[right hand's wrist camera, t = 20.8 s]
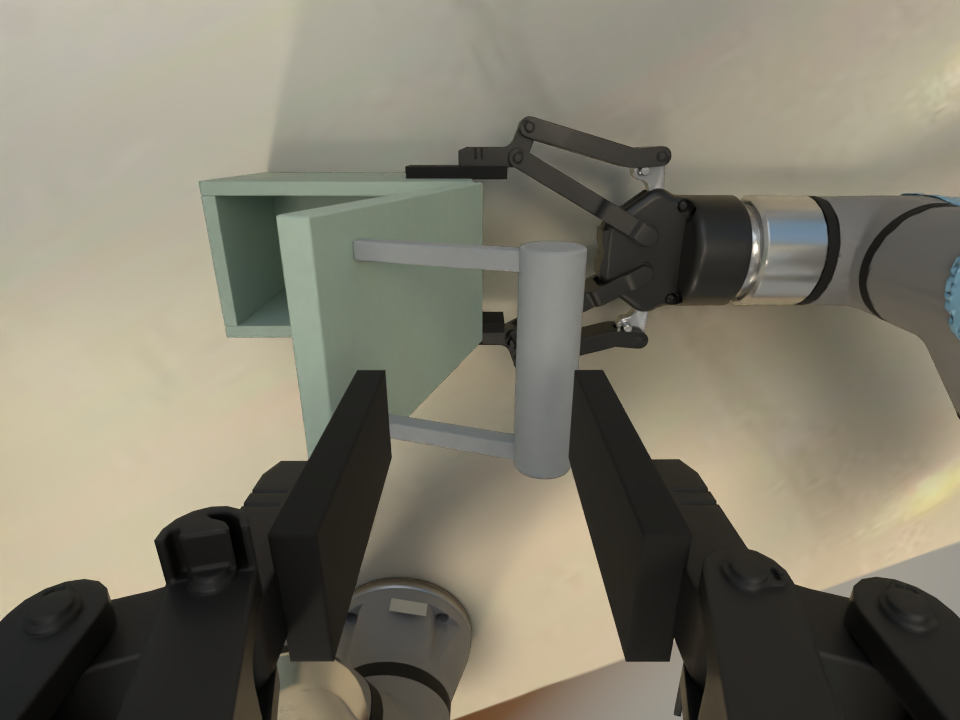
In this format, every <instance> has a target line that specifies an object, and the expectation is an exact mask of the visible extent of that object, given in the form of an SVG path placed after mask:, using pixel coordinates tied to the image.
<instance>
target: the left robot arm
mask: <svg viewBox="0 0 960 720" xmlns="http://www.w3.org/2000/svg"><path fill="white" fill-rule="evenodd" d="M533 141H537V142H541V143H544V144H547V145H551V146H554V147H557V148H561V149H564V150H567V151H570V152H574V153H577V154H580V155H584V156H587V157H590V158H594V159H597V160H600V161H603V162H607V163H610V164H613V165H618V166H623V167H630V174H631V176H632V177H633V178H634V179H638V180H641V181H642V182H643V183H644V185H645V190H643V191H642V192H640V193H639V194H637V195H636V196H634V197H633V198H631V199H630V200H629V201H627V202H626V203H624V204H623V205H621V206H620V207H618V206H616V205H614V204H613V203H611V202H610V201H608V200H606V199H604V198H603V197H601V196H599V195H598V194H596V193H594V192H593V191H591V190H589V189H588V188H586V187H585V186H583V185H581V184H580V183H578V182H576V181H575V180H573V179H571V178H570V177H568V176H567V175H565V174H563V173H562V172H560V171H558V170H557V169H555V168H553V167H552V166H550V165H549V164H547V163H545V162H544V161H542V160H540V159H539V158H537V157H535V156H534V155H532V154H530V153H529V152H530V149H531V147H532V144H533ZM670 160H671V151H670V149H669V148H667V147H664V146H647V147H635V148H633V147H629V146H626V145H623V144H619V143H616V142H613V141H610V140H606V139H603V138H600V137H597V136H593V135H590V134H587V133H584V132H580V131H577V130H574V129H571V128H567V127H564V126H561V125H558V124H554V123H551V122H548V121H545V120H541V119H538V118H535V117H530V116H528V117H525V118H524V119H522V120H521V121H520V122H519V124H518V127H517V130H516V133H515V135H514V138H513V140H512V142H511V143H510V144H509V145H508V146H505V147H466V148H463V149H461V150H459V165H409V166H406V167H405V168H406V179H507V167H515V168H517V169H518V170H520V171H522V172H523V173H525V174H527V175H528V176H530V177H532V178H533V179H535V180H537V181H538V182H540V183H542V184H543V185H545V186H547V187H548V188H550V189H552V190H553V191H555V192H557V193H558V194H560V195H562V196H563V197H565V198H567V199H568V200H570V201H572V202H573V203H575V204H577V205H578V206H580V207H582V208H583V209H585V210H587V211H588V212H590V213H592V214H593V215H595V216H596V217H598V218H600V219H601V220H603V221H602V222H601V224H600V227H597V242H598V247H599V249H598V252H597V255H596V258H595V264H594V270H595V272H596V274H595V275H593V276H591V277H589V278H587V279H586V280H585V289H584V302H583V312H585V311H587V310H589V309H591V308H593V307H598V306H602V305H604V304H606V303H608V302H610V301H612V300H614V299H616V298H618V297H620V298H621V299H622V300H623V301H625V302H626V303H627V304H629V305H630V306H631V307H632V308H631V310H630V311H629V312H628V313H626V314H622V315H619V316H618V317H617V318H616V319H615V321H609V322H602V323H597V324H593V325H589V326H585V327H582V328H581V341H580V354H579V356H580V355H584V354H588V353H592V352H596V351H600V350H604V349H608V348H613V347H625V348H643V347H645V346H646V345H647V343H648V337H647V335H646V334H645V333H644V331H645V326H646V321H647V316H648V312H649V311H651V310H653V309H655V308H657V307H660V306H663V305H724V304H727V303H728V302H730V303H732V304H733V305H739V306H743V305H839V306H851V307H855V308H859V309H861V310H863V311H866V312H868V313H870V314H873V315H875V316H877V317H878V318H880V319H882V320H884V321H887V322H889V323H891V324H893V325H895V326H897V327H900V328H902V329H904V330H906V331H909V332H911V333H913V334H915V335H917V336H918V337H919V338H920V339H921V340H922V341H923V342H924V343H925V345H926V347H927V349H928V351H929V353H930V355H931V357H932V360H933V362H934V364H935V366H936V368H937V371H938V373H939V375H940V377H941V379H942V381H943V384H944V386H945V388H946V390H947V392H948V394H949V397H950V399H951V401H952V403H953V405H954V408H955V410H956V412H957V415H958V417H959V419H960V198H957V197H944V196H940V195H924V194H923V193H907V194H902V195H899V196H839V197H817V196H761V195H750V196H744V197H742V198H740V199H738V198H737V197H735V196H733V195H673V194H671V193H670V192H668V191H667V190H665V189H664V174H665V165H666V164H668V163H669V161H670ZM478 345H503V346H505V347H507V348H508V350H509V351H510V354H511V357H512V360H513V363H514V366H515V367H516V348H517V318H515V319H513V320H511V321H510V322H508V323H504V316H503V312H482V341H481V342H480V343H479V344H478ZM470 648H471V624H470V620H469V617H468V615H467V613H466V611H465V609H464V608H463V606H462V605H461V604H460V603H459V601H458V600H457V599H456V598H454V597H453V596H452V595H451V594H450V593H448V592H447V591H445V590H443V589H442V588H440V587H438V586H436V585H433V584H431V583H428V582H425V581H421V580H417V579H411V578H385V579H380V580H376V581H372V582H369V583H367V584H364V585H362V586H360V587H358V588H357V589H355V590H354V593H353V596H352V600H351V603H350V607H349V610H348V614H347V617H346V621H345V624H344V628H343V632H342V635H341V639H340V642H339V646H338V649H337V653H336V656H335V660H334V662H290V656H289V651H288V645H287V640H286V641H285V644H284V646H283V649H282V651H281V654H280V656H279V659H278V662H277V668H278V673H279V679H280V692H279V703H278V715H277V720H450V710H451V701H452V699H453V696H454V694H455V691H456V689H457V686H458V684H459V681H460V679H461V676H462V674H463V671H464V669H465V666H466V664H467V661H468V658H469V653H470Z"/></svg>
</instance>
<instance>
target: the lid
mask: <svg viewBox="0 0 960 720" xmlns="http://www.w3.org/2000/svg"><path fill="white" fill-rule="evenodd" d="M276 220H277V228H278V235H279V243H280V250H281V257H282V265H283V272H284V280H285V287H286V295H287V302H288V309H289V317H290V324H291V332H292V339H293V347H294V354H295V361H296V369H297V376H298V384H299V391H300V399H301V406H302V413H303V421H304V428H305V436H306V443H307V451H308V458H310V456H311V454H312V452H313V450H314V448H315V447H316V445H317V443H318V441H319V439H320V437H321V436H322V434H323V432H324V430H325V428H326V426H327V425H328V423H329V421H330V419H331V417H332V415H333V414H334V412H335V410H336V408H337V406H338V404H339V403H340V401H341V399H342V397H343V395H344V393H345V392H346V390H347V388H348V386H349V384H350V382H351V381H352V379H353V377H354V375H355V373H356V371H357V370H385V371H386V385H387V399H388V413H389V427H390V438H393V439H399V440H404V441H410V442H415V443H421V444H427V445H432V446H438V447H444V448H449V449H455V450H461V451H466V452H472V453H478V454H483V455H489V456H495V457H500V458H506V459H512V460H513V463H514V465H515V467H516V469H517V470H518V471H520V472H521V473H522V474H524V475H526V476H529V477H532V478H537V479H553V478H557V477H560V476H562V475H564V474H566V473H567V472H568V471H569V469H570V467H571V465H570V462H569V458H568V455H569V441H570V427H571V413H572V399H573V385H574V371H575V370H578V368H579V354H580V341H581V328H582V315H583V302H584V289H585V275H586V262H587V248H586V247H585V246H583V245H581V244H577V243H572V242H563V241H537V242H529V243H525V244H523V245H521V246H520V247H505V246H488V245H483V183H481V182H462V183H456V184H451V185H445V186H439V187H434V188H428V189H422V190H417V191H411V192H405V193H399V194H394V195H388V196H382V197H377V198H371V199H365V200H359V201H354V202H348V203H342V204H337V205H331V206H325V207H320V208H314V209H308V210H302V211H297V212H291V213H285V214H280V215H277V216H276ZM483 270H491V271H505V272H519V280H518V314H517V348H516V382H515V416H514V434H508V433H502V432H496V431H490V430H484V429H478V428H471V427H465V426H459V425H453V424H447V423H441V422H435V421H428V420H422V419H416V418H410V417H409V416H410V415H411V414H412V413H413V412H414V411H415V410H416V409H417V408H418V406H419V405H420V404H421V403H422V402H423V401H424V400H425V399H426V398H427V397H428V396H429V395H430V394H431V393H432V392H433V391H434V390H435V389H436V388H437V387H438V386H439V385H440V384H441V383H442V382H443V381H444V380H445V379H446V377H447V376H448V375H449V374H450V373H451V372H452V371H453V370H454V369H455V368H456V367H457V366H458V365H459V364H460V363H461V362H462V361H463V360H464V359H465V358H466V357H467V356H468V355H469V354H470V353H471V352H472V351H473V350H474V348H475V347H476V346H477V345H478V344H479V343H480V342H481V341H482V273H483Z"/></svg>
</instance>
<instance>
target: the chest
mask: <svg viewBox="0 0 960 720" xmlns="http://www.w3.org/2000/svg"><path fill="white" fill-rule="evenodd" d="M462 182H473V179H406V173H257V174H249V175H242V176H234V177H227V178H219V179H212V180H204V181H199V186H200V192H201V195H202V196H201V198H202V203H203V209H204V214H205V220H206V225H207V231H208V236H209V242H210V247H211V253H212V258H213V264H214V269H215V275H216V280H217V286H218V291H219V297H220V302H221V307H222V313H223V318H224V324H225V329H226V334H227V337H228V338H252V337H292V332H291V324H290V317H289V309H288V302H287V295H286V287H285V280H284V272H283V265H282V257H281V250H280V243H279V235H278V228H277V220H276V216H277V215H280V214H285V213H291V212H297V211H302V210H308V209H314V208H320V207H325V206H331V205H337V204H342V203H348V202H354V201H359V200H365V199H371V198H377V197H382V196H388V195H394V194H399V193H405V192H411V191H417V190H422V189H428V188H434V187H439V186H445V185H451V184H456V183H462Z"/></svg>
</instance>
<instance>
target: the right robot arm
mask: <svg viewBox="0 0 960 720" xmlns="http://www.w3.org/2000/svg"><path fill="white" fill-rule="evenodd" d="M391 458H392V455H391V441H390V427H389V413H388V399H387V385H386V371H385V370H357V371H356V373H355V375H354V377H353V379H352V381H351V382H350V384H349V386H348V388H347V390H346V392H345V393H344V395H343V397H342V399H341V401H340V403H339V404H338V406H337V408H336V410H335V412H334V414H333V415H332V417H331V419H330V421H329V423H328V425H327V426H326V428H325V430H324V432H323V434H322V436H321V437H320V439H319V441H318V443H317V445H316V447H315V448H314V450H313V452H312V454H311V456H310V458H309V459H308V461H280V462H279V463H278V464H276V465H275V466H274V467H272V468H271V469H270V470H268V471H267V472H265V473H264V474H263V475H262V476H261V478H260V479H259V481H258V482H257V484H256V486H255V487H254V489H253V490H252V491H253V492H252V493H250V495H249V496H248V498H247V499H246V501H245V502H244V506H242V507H241V508H240V509H237V508H233V507H229V506H217V507H208V508H204V509H200V510H196V511H193V512H190V513H188V514H186V515H184V516H182V517H180V518H177V519H176V520H174V521H173V522H172V523H170V524H169V525H168V526H166V527H165V528H164V529H162V531H161V532H160V533H159V535H158V536H157V538H156V539H155V540H154V542H155V545H156V549H157V553H158V556H159V560H160V563H161V567H162V570H163V574H164V577H165V581H166V586H165V587H162V588H159V589H156V590H152V591H149V592H144V593H140V594H136V595H131V596H127V597H123V598H118V599H114V600H111V599H110V596H109V593H108V590H107V588H106V587H105V586H104V585H103V584H101V583H100V582H99V581H94V580H87V579H81V580H74V581H67V582H64V583H61V584H58V585H55V586H52V587H49V588H46V589H44V590H42V591H40V592H39V593H37V594H35V595H33V596H31V597H30V598H28V599H26V600H24V601H23V602H22V603H21V604H19V605H18V606H17V607H16V608H15V609H13V610H12V611H11V612H10V613H8V614H7V615H6V616H5V617H4V618H3V619H2V620H1V621H0V720H277V715H278V703H279V692H280V679H279V673H278V668H277V662H278V659H279V656H280V654H281V651H282V649H283V646H284V644H285V641H286V640H287V645H288V651H289V656H290V662H334V660H335V656H336V653H337V649H338V646H339V642H340V639H341V635H342V632H343V628H344V624H345V621H346V617H347V614H348V610H349V607H350V603H351V600H352V596H353V593H354V589H355V586H356V582H357V578H358V575H359V571H360V568H361V564H362V561H363V557H364V554H365V550H366V547H367V543H368V539H369V536H370V532H371V529H372V525H373V522H374V518H375V515H376V511H377V508H378V504H379V501H380V497H381V493H382V490H383V486H384V483H385V479H386V476H387V472H388V469H389V465H390V462H391ZM568 458H569V462H570V465H571V469H572V472H573V476H574V479H575V483H576V486H577V490H578V493H579V497H580V501H581V504H582V508H583V511H584V515H585V518H586V522H587V525H588V529H589V532H590V536H591V539H592V543H593V547H594V550H595V554H596V557H597V561H598V564H599V568H600V571H601V575H602V578H603V582H604V586H605V589H606V593H607V596H608V600H609V603H610V607H611V610H612V614H613V617H614V621H615V624H616V628H617V632H618V635H619V639H620V642H621V646H622V649H623V653H624V656H625V660H626V662H669V661H670V656H671V651H672V645H673V640H674V639H675V641H676V644H677V646H678V649H679V651H680V654H681V656H682V659H683V661H684V662H683V668H682V673H681V678H680V683H679V688H678V693H677V698H676V704H675V710H674V715H676V716H681V712H682V713H683V720H960V618H959V617H958V616H957V615H956V614H955V613H954V612H953V611H952V610H950V609H949V608H948V607H947V606H945V605H944V604H943V603H942V602H941V601H939V600H938V599H937V598H935V597H934V596H932V595H930V594H928V593H926V592H924V591H923V590H921V589H919V588H917V587H915V586H912V585H909V584H906V583H904V582H901V581H898V580H895V579H888V578H881V577H872V578H866V579H862V580H860V581H859V582H858V583H857V584H856V585H854V587H853V590H852V593H851V596H850V598H847V597H842V596H838V595H834V594H830V593H825V592H821V591H817V590H812V589H808V588H805V587H802V586H798V585H795V584H794V582H793V581H792V579H791V578H790V576H789V575H788V573H787V571H786V570H785V569H783V568H782V567H781V566H780V565H779V564H777V563H776V562H775V561H774V560H772V559H771V558H769V557H767V556H765V555H763V554H761V553H759V552H757V551H753V550H750V549H748V548H747V547H746V545H745V544H744V542H743V541H742V539H741V538H740V536H739V535H738V533H737V532H736V530H735V529H734V527H733V526H732V524H731V523H730V521H729V520H728V518H727V517H726V515H725V514H724V512H723V510H722V509H721V507H720V506H719V505H717V504H716V500H715V498H714V497H713V495H712V494H711V492H710V491H708V488H707V486H706V485H705V483H704V482H703V480H702V479H701V477H700V476H699V474H698V473H697V472H696V471H694V470H693V469H692V468H690V467H689V466H687V465H686V464H685V463H683V462H682V461H681V460H679V459H651V458H650V456H649V454H648V452H647V450H646V448H645V447H644V445H643V443H642V441H641V439H640V437H639V436H638V434H637V432H636V430H635V428H634V426H633V425H632V423H631V421H630V419H629V417H628V415H627V414H626V412H625V410H624V408H623V406H622V404H621V403H620V401H619V399H618V397H617V395H616V393H615V392H614V390H613V388H612V386H611V384H610V382H609V381H608V379H607V377H606V375H605V373H604V371H603V370H575V371H574V385H573V399H572V413H571V427H570V441H569V455H568Z"/></svg>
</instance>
